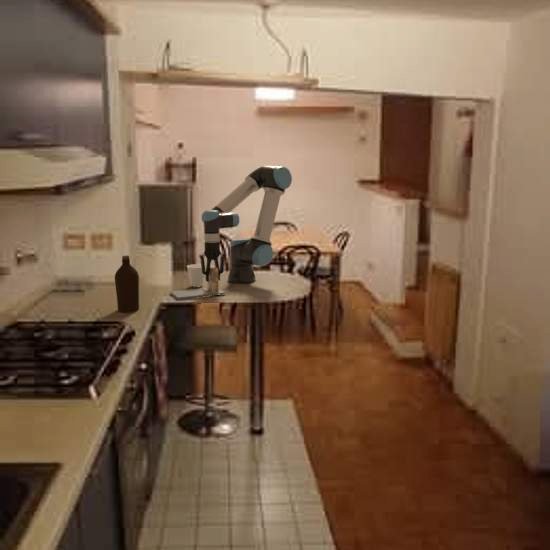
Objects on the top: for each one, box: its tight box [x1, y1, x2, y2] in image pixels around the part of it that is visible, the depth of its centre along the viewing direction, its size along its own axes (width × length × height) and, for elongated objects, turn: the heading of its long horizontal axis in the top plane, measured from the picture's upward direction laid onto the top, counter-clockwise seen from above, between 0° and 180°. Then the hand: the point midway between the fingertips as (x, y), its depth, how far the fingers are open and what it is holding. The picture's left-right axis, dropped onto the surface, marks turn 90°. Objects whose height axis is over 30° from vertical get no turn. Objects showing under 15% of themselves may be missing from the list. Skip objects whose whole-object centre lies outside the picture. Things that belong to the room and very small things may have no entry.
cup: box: [186, 263, 206, 288], centre depth 327 cm, size 10×10×11 cm
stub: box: [201, 265, 226, 297], centre depth 312 cm, size 8×14×13 cm, turn 24°
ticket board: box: [169, 287, 210, 301], centre depth 309 cm, size 16×14×2 cm
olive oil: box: [114, 255, 140, 313], centre depth 280 cm, size 11×11×25 cm
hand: (213, 287), depth 313 cm, fingers open, 3 cm apart
